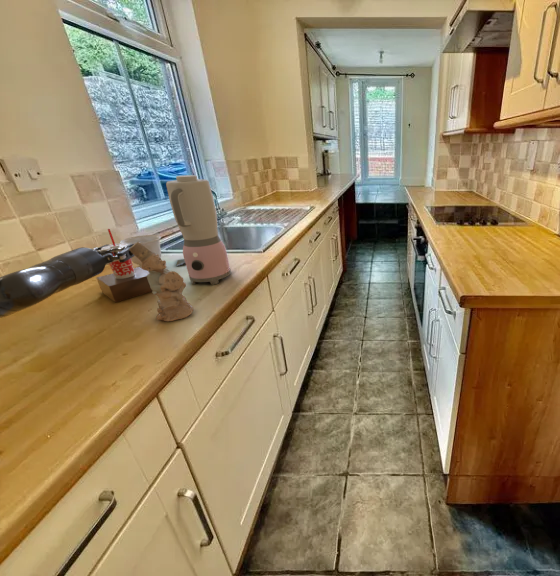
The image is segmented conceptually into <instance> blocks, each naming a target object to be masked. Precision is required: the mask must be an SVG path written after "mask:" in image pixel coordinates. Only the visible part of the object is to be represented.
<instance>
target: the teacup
mask: <svg viewBox="0 0 560 576" xmlns="http://www.w3.org/2000/svg"><path fill="white" fill-rule="evenodd" d="M161 238H162V237H161V236H160V235H157V234H145V235H144V234H143V235H137V236H136V235H135V236H132V237H127V238H123V239H121V240H120V241H119V244H128V245H129V244H135V243H137V242H140V243H141V244H142V245H144V246H145V247H146V248H147V249H149V250H150V251H152V252H153V253H155V254H158V255H159V257H160V258H161V259H162V249H161V242H160V241H161ZM115 244H118V243H117V242H116V243H115ZM111 245H113V243H112V244H111ZM131 261H132V264H135V265H138V266H139V267H141V268H142V262H141V261H140V260H139V259H138V258H137V257H136V256H135V255H134V257H132V258H131Z"/></svg>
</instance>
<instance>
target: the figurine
mask: <svg viewBox="0 0 560 576" xmlns="http://www.w3.org/2000/svg"><path fill="white" fill-rule="evenodd" d="M129 250H130V251H131V252H132V253H133V254H134V255H135V256H136V257H137V258H138V259H139V260H140V261H141V262H142V269H143V270H147V271H148V272H149V275H147V279H148V282H149V284H150V288H151V289H152V290H153V291H152V292H151V293H152V294H153V295H154V296H157V298H158V300H157V306H158V308H157V309H156V311H157V315H156V318H155V319H156V320H157V321H165V322H173V321H176V320H182V319H186V318H188V317H189V316H190V315H191V314H192V313H193V312H194V308H193V306H192V305H191V303H190V302H189V301H188V300H187V298H186V297H185V295H184V294H183V291H184V289H185V288H186V286H187V284H186V282H185V279H184V277H182V275H181V274H180V273H178V272H177V271H171V270H169V269H167V261H166V260H165V259H162V257H161V258H160V257H159V255H158V254H155V253H153V252H152V251H150V250H149V249H147V248H146V247H145V246H144V245H142V244H141V243H140V242H137V243H135V244H134V245H133V246H132V247H131V248H130V249H129Z"/></svg>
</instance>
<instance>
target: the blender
mask: <svg viewBox="0 0 560 576" xmlns="http://www.w3.org/2000/svg"><path fill="white" fill-rule="evenodd" d="M175 178H176V179H175V180H168V181H166V183H165V185H166V190H167V195H168V199H169V202H170V208H171V211H172V214H173V217H174V220H175V222H176V224H177V226H178V229H179V231H180V233H181V235H182V238H183V246H182V255H183V259H184V260H185V263H186V265H185V266H186V270H187V274H188V277H189V280H190V283H191V284H192V285H195V284H196V283H208V282H209V283H210V285H212V286H213V285H217V284H219V283H220V282H219V281H220V280H223V279H224V278H226V277H227V278H228V276H230V275H231V273H232V269H231V267H230V262H229V257H228V252H227V248H226V246H225V244H224V242H223V240H222V239H221V238H220V236H219V231H218V215H217V209H216V204H215V199H214V195H213V192H212V189H211V185H210V181H209V180H208V179H203V178H198V177H197V175H194V174H193V175H192V174H188V175H185V174H184V175H177V176H176V177H175Z"/></svg>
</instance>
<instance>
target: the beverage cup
mask: <svg viewBox="0 0 560 576" xmlns="http://www.w3.org/2000/svg"><path fill="white" fill-rule="evenodd" d="M107 232H108V234H109V237H110V240H111V243H112V244H113V245H112V244H109V245H108V246H105V247H102V248H101V250H106V249H110V248H122V247H124V246H127V245H128V244H120V243H117V244H115V239H114V237H113V234H112V232H111V229H110V228H107ZM121 251H122V250H121ZM110 252H112V254H113V256H115V255H114V252H113V251H110ZM119 252H120V251H119ZM108 265H109V266H110V269H111V271H112V274H113V273H114V275H115V278H117V279H124V278H129V277H132V276H134V275H135V272H134V268H135V267H134V265H133V262H132V261H131V258H130V259H129V260H127V261H125V262H123V263H122V262H120V261H115V262H111V263H110V264H108Z"/></svg>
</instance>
